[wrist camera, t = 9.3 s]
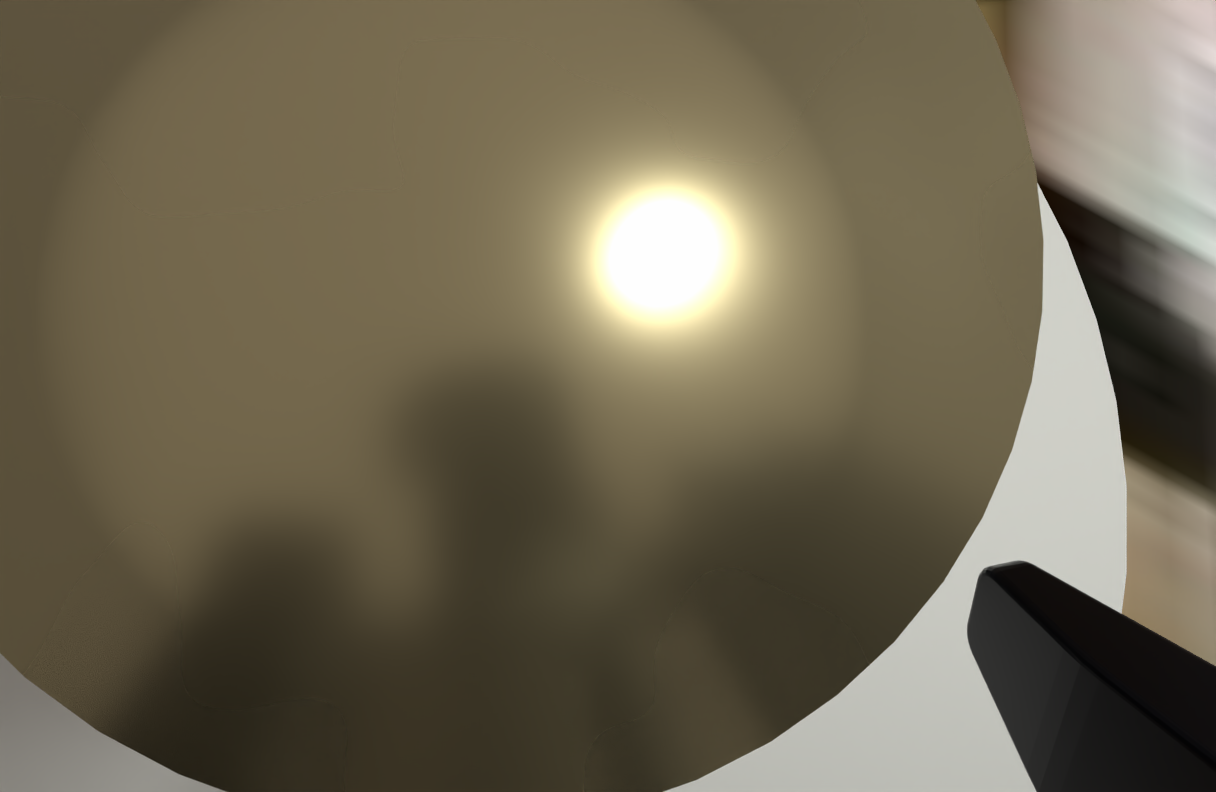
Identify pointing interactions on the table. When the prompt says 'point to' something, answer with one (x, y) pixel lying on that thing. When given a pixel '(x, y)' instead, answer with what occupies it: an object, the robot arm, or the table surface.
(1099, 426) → the white round disc
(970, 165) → the brass-topped metal cylinder
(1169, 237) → the table surface
